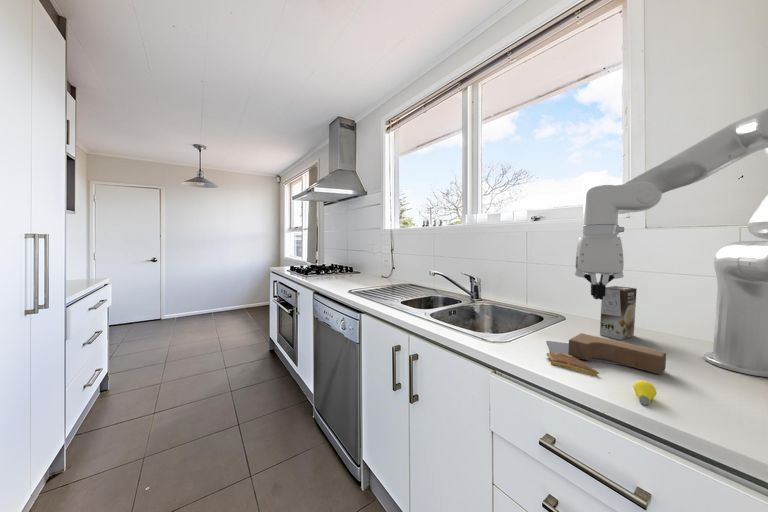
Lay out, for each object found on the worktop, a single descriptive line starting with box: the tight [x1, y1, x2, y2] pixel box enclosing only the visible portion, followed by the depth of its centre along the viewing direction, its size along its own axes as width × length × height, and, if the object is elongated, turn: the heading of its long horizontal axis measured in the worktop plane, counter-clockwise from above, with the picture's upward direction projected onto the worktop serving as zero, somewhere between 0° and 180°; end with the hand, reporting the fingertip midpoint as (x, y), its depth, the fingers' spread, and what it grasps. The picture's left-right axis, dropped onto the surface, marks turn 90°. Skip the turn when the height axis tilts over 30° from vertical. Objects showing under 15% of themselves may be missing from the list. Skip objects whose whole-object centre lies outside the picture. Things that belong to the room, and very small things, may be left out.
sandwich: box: [545, 352, 600, 377], centre depth 72 cm, size 11×8×2 cm
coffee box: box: [599, 285, 638, 341], centre depth 95 cm, size 9×6×16 cm
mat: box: [546, 340, 628, 367], centre depth 80 cm, size 24×11×1 cm, turn 66°
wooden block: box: [568, 333, 667, 375], centre depth 73 cm, size 9×4×18 cm
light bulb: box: [633, 379, 658, 406], centre depth 57 cm, size 3×6×4 cm, turn 137°
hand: (597, 298), depth 79 cm, fingers closed
